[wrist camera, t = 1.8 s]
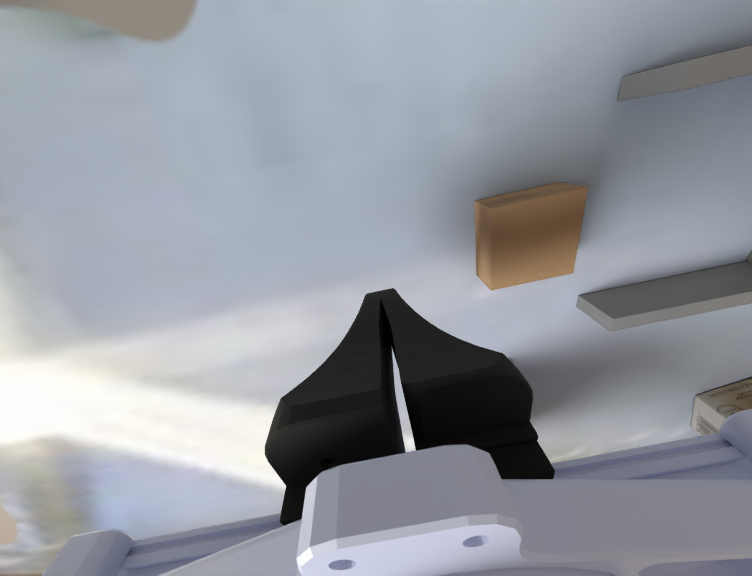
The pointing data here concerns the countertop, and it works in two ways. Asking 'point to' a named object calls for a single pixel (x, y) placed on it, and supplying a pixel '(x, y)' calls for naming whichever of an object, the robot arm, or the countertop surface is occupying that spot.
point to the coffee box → (720, 406)
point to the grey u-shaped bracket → (691, 288)
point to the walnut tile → (528, 234)
